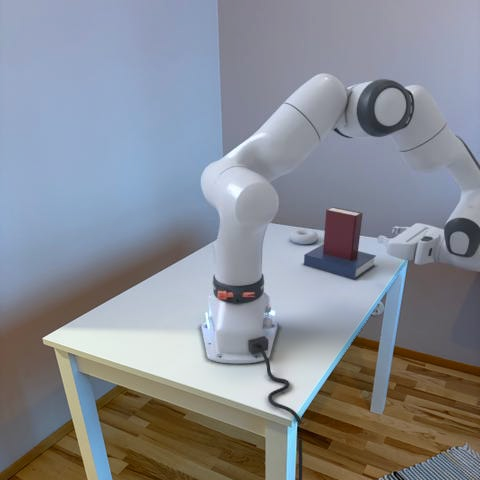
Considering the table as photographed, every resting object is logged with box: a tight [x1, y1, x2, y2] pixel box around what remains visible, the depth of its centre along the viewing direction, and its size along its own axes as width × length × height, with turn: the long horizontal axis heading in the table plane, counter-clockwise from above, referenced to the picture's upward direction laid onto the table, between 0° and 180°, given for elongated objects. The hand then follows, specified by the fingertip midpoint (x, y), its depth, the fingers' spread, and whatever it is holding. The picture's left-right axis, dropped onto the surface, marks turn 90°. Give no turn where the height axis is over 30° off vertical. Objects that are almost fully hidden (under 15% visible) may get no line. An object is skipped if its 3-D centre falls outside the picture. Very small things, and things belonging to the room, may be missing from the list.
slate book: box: [303, 243, 377, 280], centre depth 147 cm, size 13×18×4 cm
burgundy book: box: [323, 206, 364, 261], centre depth 142 cm, size 4×10×14 cm, turn 50°
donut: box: [289, 228, 319, 245], centre depth 166 cm, size 10×4×10 cm
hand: (385, 234), depth 133 cm, fingers open, 8 cm apart
